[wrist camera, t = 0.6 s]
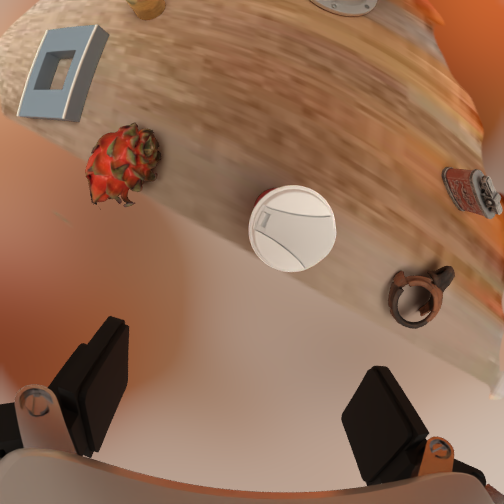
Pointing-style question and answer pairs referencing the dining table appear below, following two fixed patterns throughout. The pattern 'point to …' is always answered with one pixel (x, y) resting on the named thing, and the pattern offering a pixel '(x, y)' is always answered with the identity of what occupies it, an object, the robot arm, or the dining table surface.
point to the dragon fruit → (122, 163)
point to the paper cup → (291, 228)
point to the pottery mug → (435, 287)
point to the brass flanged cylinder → (147, 8)
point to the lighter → (472, 191)
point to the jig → (78, 78)
